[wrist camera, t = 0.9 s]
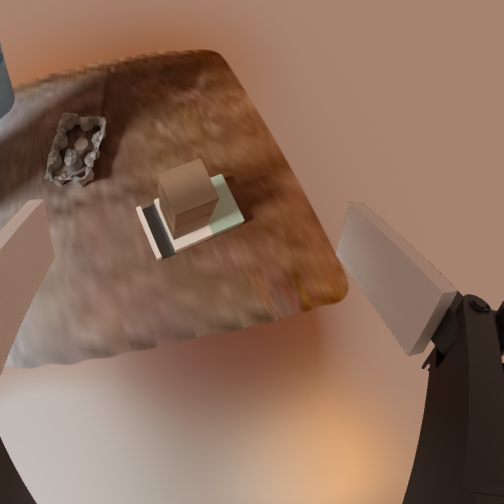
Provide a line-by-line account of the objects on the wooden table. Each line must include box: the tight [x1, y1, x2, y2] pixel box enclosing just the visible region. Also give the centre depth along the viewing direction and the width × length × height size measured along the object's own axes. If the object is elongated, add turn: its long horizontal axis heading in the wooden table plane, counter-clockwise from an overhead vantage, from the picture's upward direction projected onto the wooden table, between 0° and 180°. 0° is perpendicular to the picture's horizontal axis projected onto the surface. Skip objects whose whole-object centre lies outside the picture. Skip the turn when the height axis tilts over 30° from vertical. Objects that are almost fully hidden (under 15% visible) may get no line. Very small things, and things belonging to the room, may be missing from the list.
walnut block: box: [158, 158, 219, 240], centre depth 33 cm, size 4×4×10 cm
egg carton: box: [45, 111, 106, 188], centre depth 36 cm, size 11×8×4 cm
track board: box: [136, 174, 245, 261], centre depth 39 cm, size 7×12×2 cm, turn 117°
